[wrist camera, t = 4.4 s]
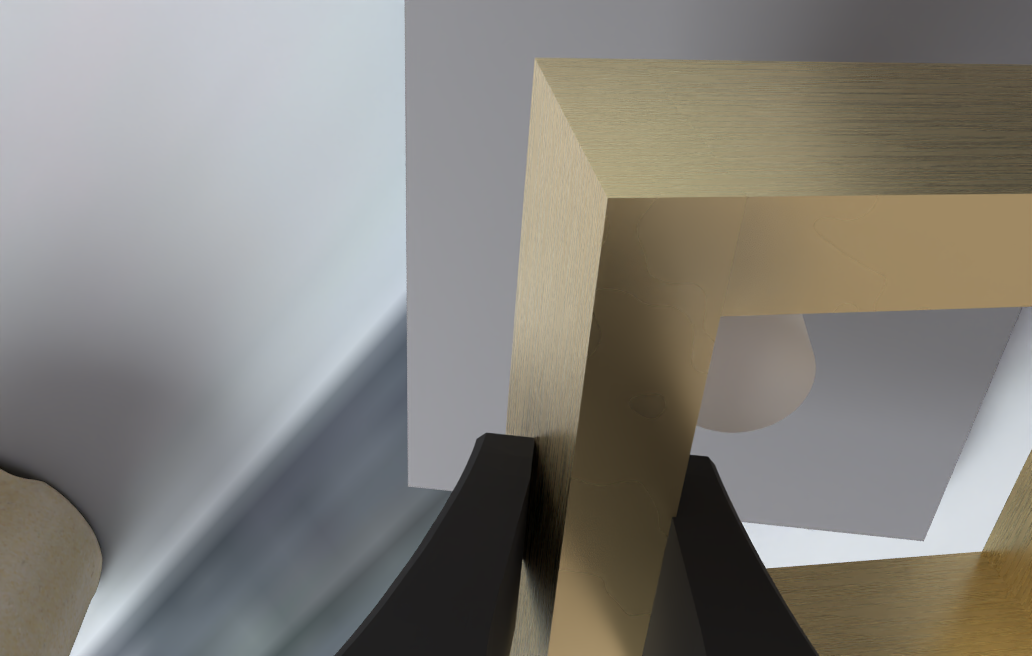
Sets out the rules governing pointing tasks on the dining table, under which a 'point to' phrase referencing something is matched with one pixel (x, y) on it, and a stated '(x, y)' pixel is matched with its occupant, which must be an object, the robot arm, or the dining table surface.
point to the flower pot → (43, 569)
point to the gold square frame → (748, 313)
